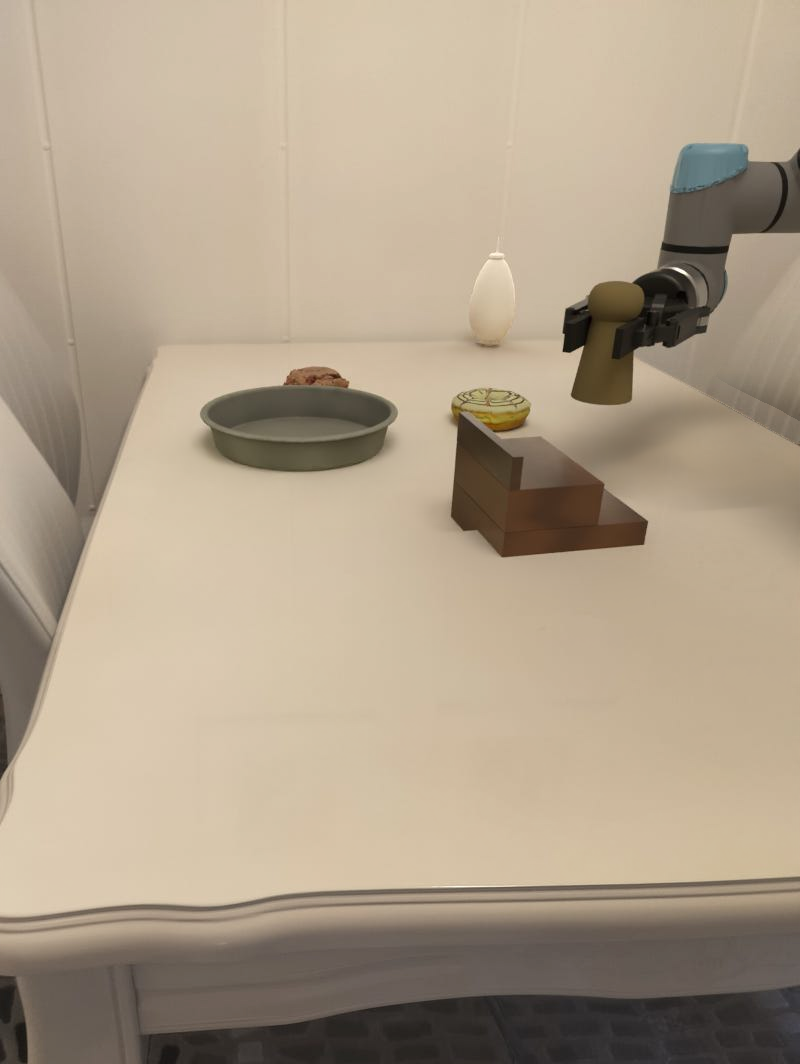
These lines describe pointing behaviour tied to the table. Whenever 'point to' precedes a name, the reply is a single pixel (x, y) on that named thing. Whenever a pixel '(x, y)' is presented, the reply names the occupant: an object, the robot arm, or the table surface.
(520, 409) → the decorated donut
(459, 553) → the table surface
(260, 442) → the cake pan
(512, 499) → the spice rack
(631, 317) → the olive tall knobbed cone
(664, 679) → the table surface
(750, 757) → the table surface
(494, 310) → the sauce bottle
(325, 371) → the cookie
